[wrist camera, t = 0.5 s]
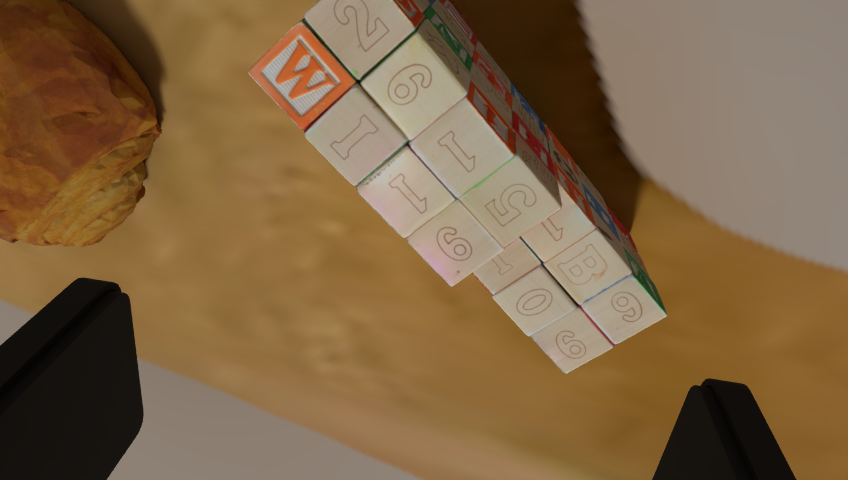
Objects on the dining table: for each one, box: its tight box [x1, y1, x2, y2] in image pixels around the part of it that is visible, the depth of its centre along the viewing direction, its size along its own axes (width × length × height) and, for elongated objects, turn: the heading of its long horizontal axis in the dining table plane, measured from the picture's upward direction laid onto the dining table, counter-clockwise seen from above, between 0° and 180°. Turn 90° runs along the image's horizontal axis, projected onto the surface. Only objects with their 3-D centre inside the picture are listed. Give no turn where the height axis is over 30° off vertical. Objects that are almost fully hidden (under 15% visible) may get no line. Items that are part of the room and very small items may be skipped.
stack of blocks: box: [248, 0, 667, 374], centre depth 32 cm, size 21×6×12 cm, turn 41°
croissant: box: [0, 0, 162, 247], centre depth 37 cm, size 14×16×8 cm
